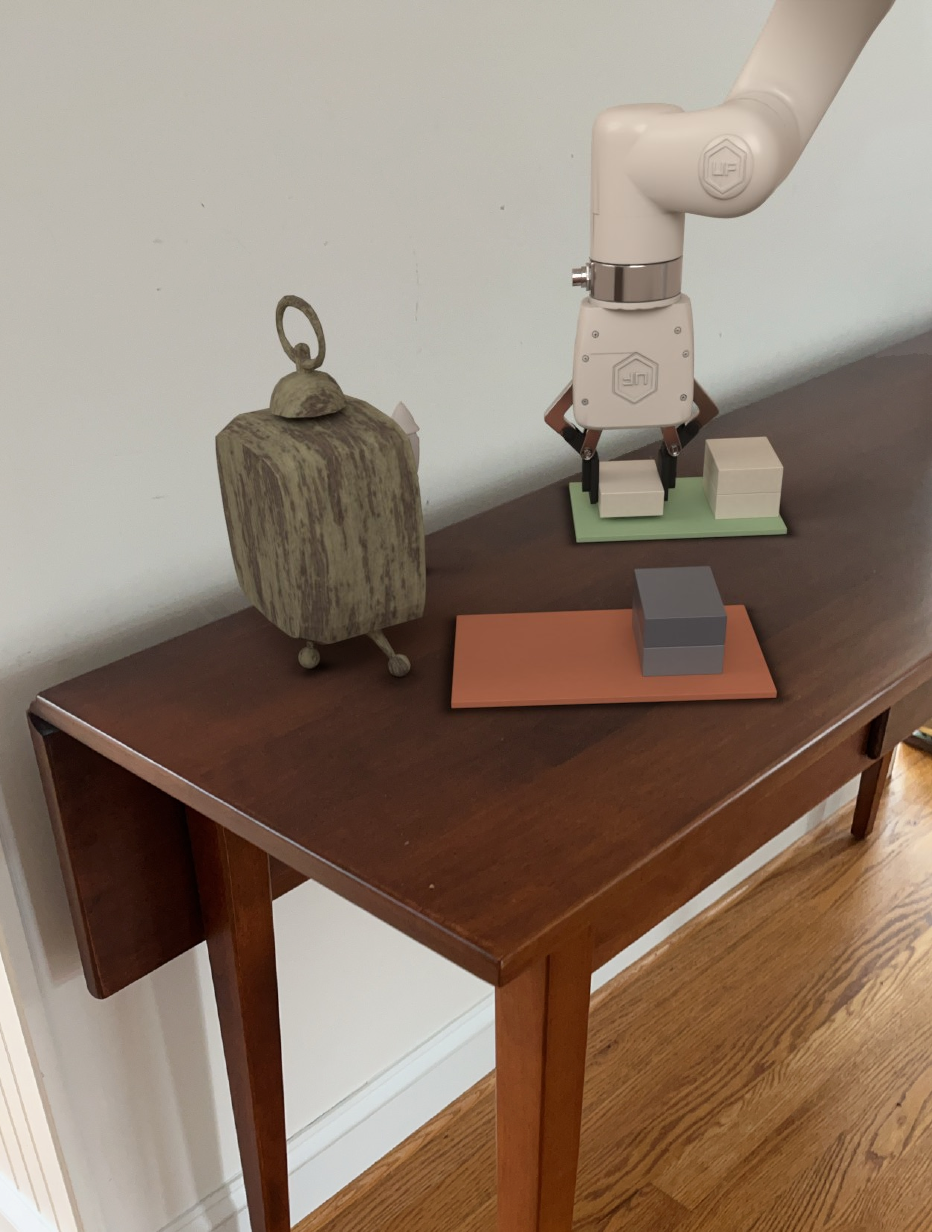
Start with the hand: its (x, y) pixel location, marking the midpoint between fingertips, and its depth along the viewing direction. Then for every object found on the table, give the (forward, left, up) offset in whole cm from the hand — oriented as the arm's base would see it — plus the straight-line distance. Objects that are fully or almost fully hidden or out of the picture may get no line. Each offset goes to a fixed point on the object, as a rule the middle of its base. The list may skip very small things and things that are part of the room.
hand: (627, 495), depth 113 cm
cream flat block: (0, 0, 0) cm, 0 cm away
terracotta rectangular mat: (+4, +29, -1) cm, 29 cm away
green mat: (-4, 0, -1) cm, 4 cm away
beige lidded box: (-10, 0, -1) cm, 10 cm away
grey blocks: (-1, +29, -1) cm, 29 cm away
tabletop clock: (+24, +28, -2) cm, 37 cm away
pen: (+19, +12, -2) cm, 23 cm away
